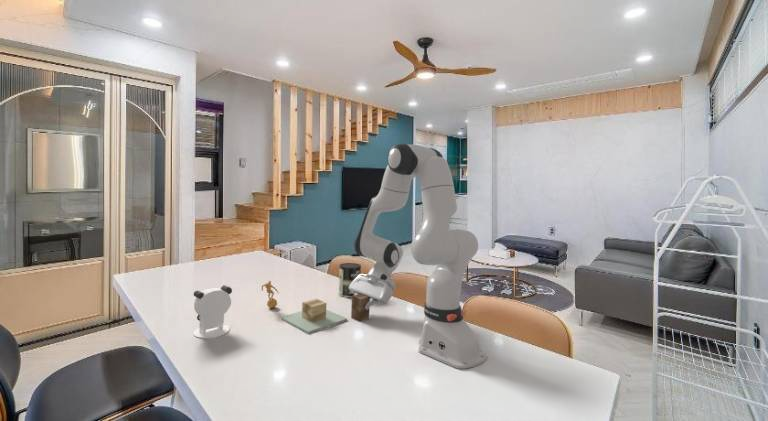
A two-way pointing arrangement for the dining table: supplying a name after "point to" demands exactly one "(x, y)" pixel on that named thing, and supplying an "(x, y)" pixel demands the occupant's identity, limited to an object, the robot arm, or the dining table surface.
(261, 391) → the dining table surface
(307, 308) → the base brick
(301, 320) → the plate
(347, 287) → the coffee can
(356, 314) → the walnut brick
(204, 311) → the panda figurine
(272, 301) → the figurine
